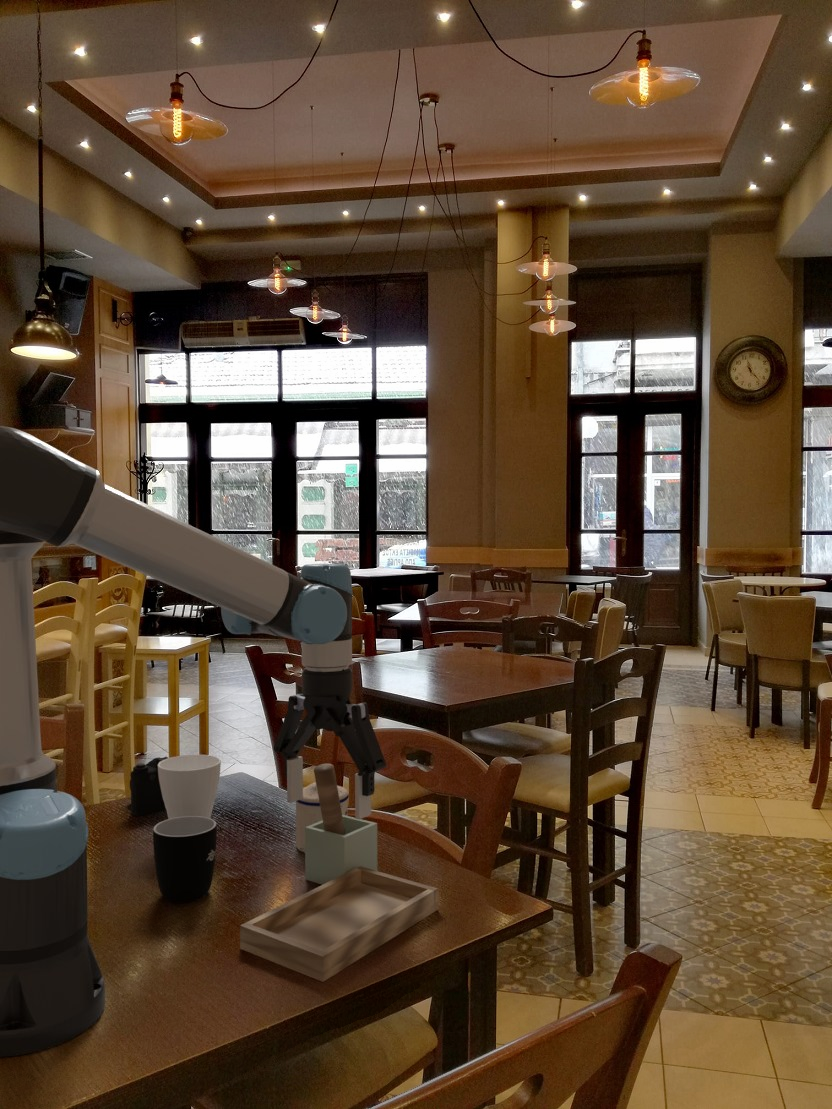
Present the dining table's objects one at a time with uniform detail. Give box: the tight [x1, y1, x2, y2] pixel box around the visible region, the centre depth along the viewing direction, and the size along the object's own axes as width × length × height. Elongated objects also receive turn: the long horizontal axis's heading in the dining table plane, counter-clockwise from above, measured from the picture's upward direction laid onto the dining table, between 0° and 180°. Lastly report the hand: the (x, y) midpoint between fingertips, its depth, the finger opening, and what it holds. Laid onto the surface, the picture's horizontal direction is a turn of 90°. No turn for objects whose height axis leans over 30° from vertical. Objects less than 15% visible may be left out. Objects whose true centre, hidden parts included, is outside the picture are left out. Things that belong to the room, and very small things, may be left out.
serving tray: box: [239, 866, 439, 983], centre depth 116 cm, size 24×14×3 cm, turn 144°
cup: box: [158, 754, 222, 820], centre depth 149 cm, size 10×10×14 cm
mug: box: [152, 816, 218, 904], centre depth 129 cm, size 12×9×10 cm
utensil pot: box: [304, 815, 378, 885], centre depth 134 cm, size 8×8×8 cm
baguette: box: [313, 763, 346, 835], centre depth 132 cm, size 6×3×17 cm, turn 144°
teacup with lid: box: [295, 781, 350, 854], centre depth 148 cm, size 12×9×12 cm
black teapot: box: [129, 756, 169, 818], centre depth 170 cm, size 14×11×10 cm
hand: (328, 808), depth 131 cm, fingers open, 13 cm apart
